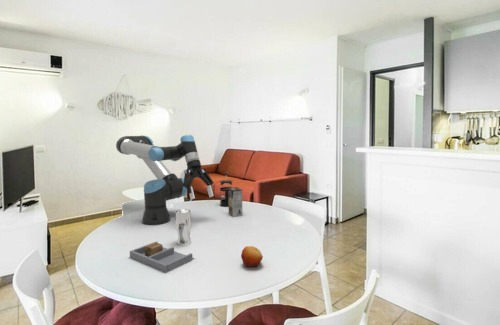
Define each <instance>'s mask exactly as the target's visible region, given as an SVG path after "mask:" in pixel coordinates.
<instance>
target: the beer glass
mask: <svg viewBox="0 0 500 325" xmlns="http://www.w3.org/2000/svg"><path fill="white" fill-rule="evenodd" d="M174 218H175V219H174V220H175V221H174V222H175V228H176V233H177V243H176V244H177V245H178V246H179V245H180V246H186V245H189V244H191V243H192V240H191V228H192V214H191V210H190V209H186V208H185V209H183V208H182V209H178V210H176V211H175V217H174Z"/></svg>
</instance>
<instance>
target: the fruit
mask: <svg viewBox="0 0 500 325" xmlns="http://www.w3.org/2000/svg"><path fill="white" fill-rule="evenodd" d="M240 256H241V257H240V258H241V262H242V263H243V264H242V265H243V268H245V267H249V268H257V267H258V266H259V265H260V264H261V263H262V261H263V253H262V252H261V250H260V249H259V248H257V246H256V247H255V246H253V245H250V246H248V245H247V246H245V247H243V249H242V251H241V255H240Z"/></svg>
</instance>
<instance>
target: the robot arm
mask: <svg viewBox="0 0 500 325" xmlns="http://www.w3.org/2000/svg"><path fill="white" fill-rule="evenodd" d="M196 145H197V144H196V140H195V137H194V135H192V134H184V135H182V136H181V137H180V143H178V144H177V145H175V146H174V145H173V146H172V145H171V146H170V145H169V146H156V145H154V141H153V140H152V138H151V137H149V136H147V135H125V136H122V137H120V138H118V140H116V144H115V147H116V151H117V152H119V153H120V154H122V155H127V156H130V155H132V156H133V155H134V156H136V157H137V158H138V159H141V160H142V161H143V162H144V164H145V165H146V166H147V168H148V169H149V170H150V172H152V174H153V175H154V177H155V178H156V179H152V180H148V181H146V182H145V183H144V185H143V196H144V212H143V216H142V219H141V220H142V221H141V222H142V224H143V223H144V225H147V224H148V225H149V226H153V225H162V224H165V223H168V222H169V221H171V216H170V212H169V211H168V208H167V201H171V200H175V199H179V198H182V197H184V196H185V195H186V193H188V194H189V199H190V200H191V201H192V200H195V199H196V197H195V194H194V189H193V186H191V185H192V183H193V181H194V179H195V178H198V179H200V180H201V181H202V182H203V183H204V184H205V185H207V186H206V189H207V193H208V197H209V198H210V199H211V198H212V197H214V193H213V187H212V186H213V184H215V183H214V181H213V180H212V178H211V176H210V174H208V172H207V169H206V168H203V169H202V163H201V160H200V157H199V153H198V150H197V149H198V148H197V146H196ZM183 158H184V159H185V163H186V166H187V169H185V170H184V177H178V175H176V174H175V173H173V172H172V173H171V171H170V170H169V169H168V168H167V166H166V165H165V164H164V162H163V161H168V160H169V161H173V162H178V161H180V160H182V159H183Z"/></svg>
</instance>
